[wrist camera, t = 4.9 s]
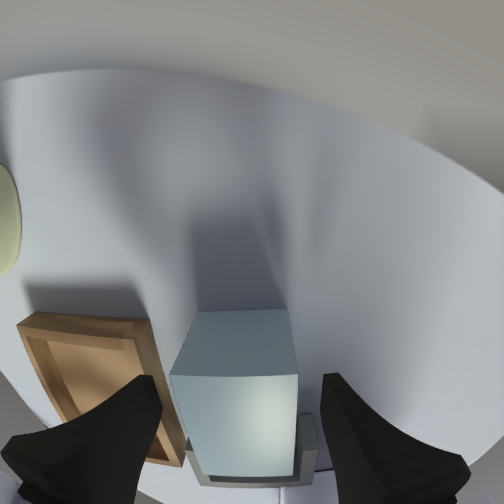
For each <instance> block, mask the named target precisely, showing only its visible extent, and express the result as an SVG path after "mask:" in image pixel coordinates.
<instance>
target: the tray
mask: <svg viewBox="0 0 504 504" xmlns="http://www.w3.org/2000/svg"><path fill="white" fill-rule="evenodd" d="M16 326H17V329H18V331H19V334H20V337H21V339H22V342H23V344H24V347H25V349H26V352H27V354H28V356H29V359H30V361H31V363H32V365H33V367H34V370H35V372H36V374H37V376H38V378H39V380H40V382H41V384H42V386H43V388H44V390H45V392H46V394H47V395H48V397H49V399H50V401H51V403H52V405H53V406H54V408H55V410H56V411H57V413H58V415H59V416H60V418H61V420H62V421H63V423H66V422H68V421H71V420H73V419H75V418H77V417H79V416H81V415H83V414H84V413H86V412H88V411H90V410H91V409H93V408H94V407H96V406H97V405H99V404H100V403H102V402H103V401H105V400H106V399H108V398H109V397H110V396H112V395H113V394H114V393H116V392H117V391H118V390H120V389H121V388H122V387H124V386H125V385H126V384H128V383H129V382H130V381H131V380H133V379H134V378H135V377H137V376H138V375H140V374H143V375H152V376H153V379H154V382H155V385H156V388H157V391H158V394H159V397H160V400H161V403H162V406H163V411H162V416H161V420H160V424H159V427H158V430H157V432H156V435H155V437H154V440H153V442H152V444H151V447H150V449H149V452H148V454H147V456H146V459H145V462H150V463H155V464H161V465H167V466H173V467H181V468H182V466H183V462H184V459H185V455H186V453H185V446H186V443H187V442H186V440H185V437H184V434H183V431H182V429H181V426H180V423H179V420H178V417H177V415H176V412H175V409H174V406H173V403H172V400H171V396H170V393H169V390H168V387H167V384H166V380H165V377H164V373H163V370H162V366H161V363H160V359H159V355H158V352H157V348H156V344H155V340H154V336H153V332H152V328H151V323H150V319H132V318H109V317H92V316H77V315H65V314H54V313H43V312H34V313H33V314H31V315H30V316H28V317H27V318H26V319H24V320H23V321H21V322H20V323H18V324H17V325H16Z"/></svg>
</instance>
